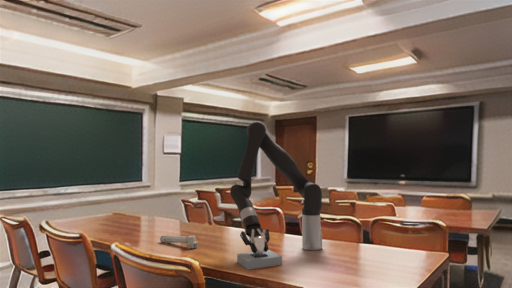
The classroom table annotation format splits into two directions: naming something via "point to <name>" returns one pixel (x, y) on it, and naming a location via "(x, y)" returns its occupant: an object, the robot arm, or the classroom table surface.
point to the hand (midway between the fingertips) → (260, 251)
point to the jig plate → (259, 260)
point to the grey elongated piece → (180, 240)
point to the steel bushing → (259, 246)
